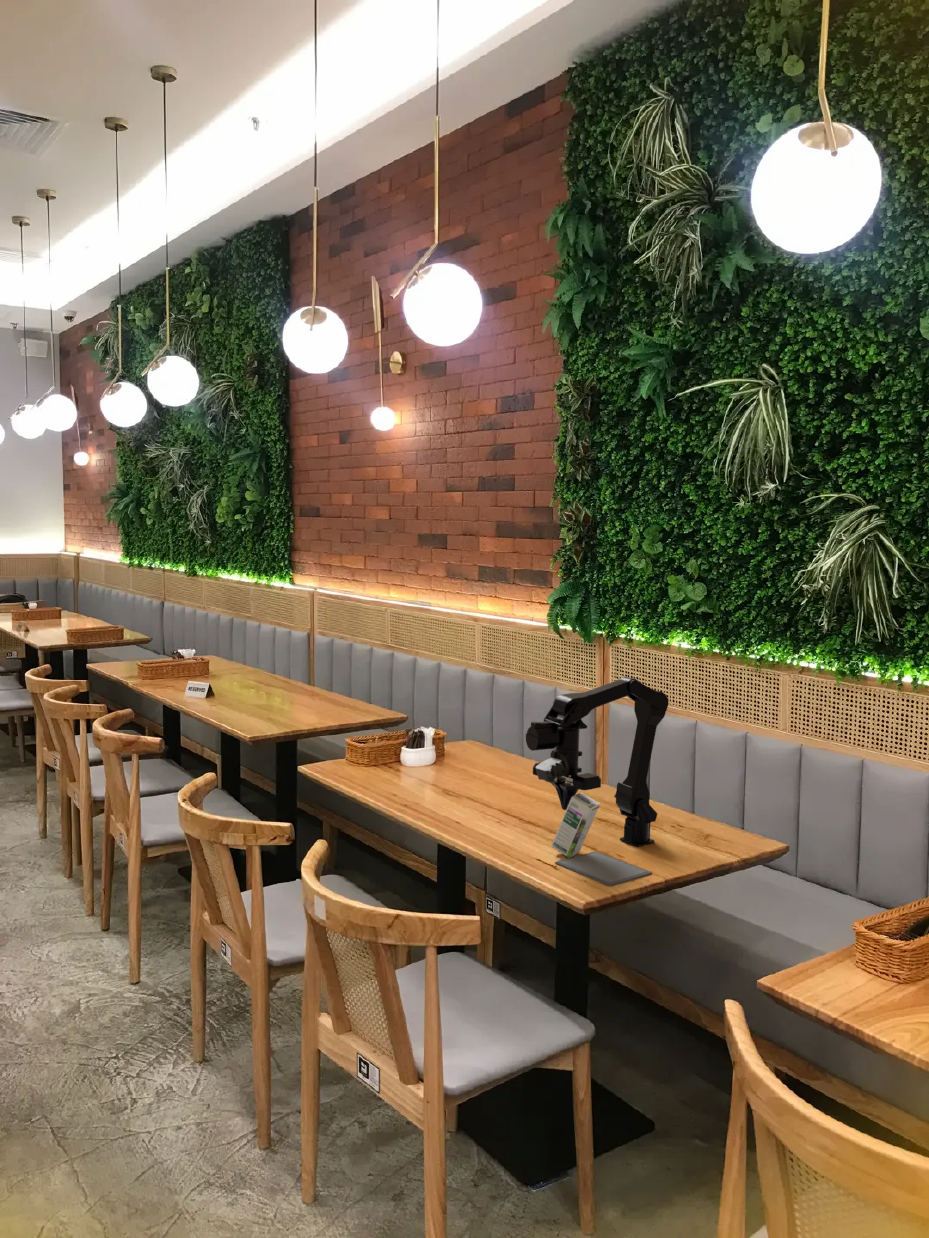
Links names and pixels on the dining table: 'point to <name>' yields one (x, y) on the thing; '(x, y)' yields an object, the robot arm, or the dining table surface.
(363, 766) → the dining table surface
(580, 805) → the syrup box
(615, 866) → the mat
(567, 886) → the dining table surface
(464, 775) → the dining table surface
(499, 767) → the dining table surface
